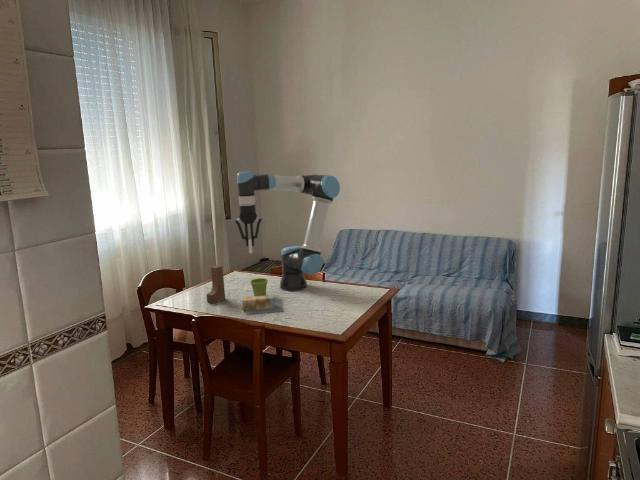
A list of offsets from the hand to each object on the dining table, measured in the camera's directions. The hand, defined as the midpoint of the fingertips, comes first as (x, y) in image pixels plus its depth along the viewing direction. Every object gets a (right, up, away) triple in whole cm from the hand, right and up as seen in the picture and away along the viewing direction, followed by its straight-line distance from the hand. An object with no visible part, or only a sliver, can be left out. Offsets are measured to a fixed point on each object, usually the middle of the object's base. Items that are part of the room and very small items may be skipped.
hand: (250, 252), depth 227 cm
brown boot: (-21, -26, +20) cm, 39 cm away
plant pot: (+2, -24, +23) cm, 34 cm away
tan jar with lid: (-5, -26, +4) cm, 26 cm away
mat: (+6, -28, +6) cm, 29 cm away
